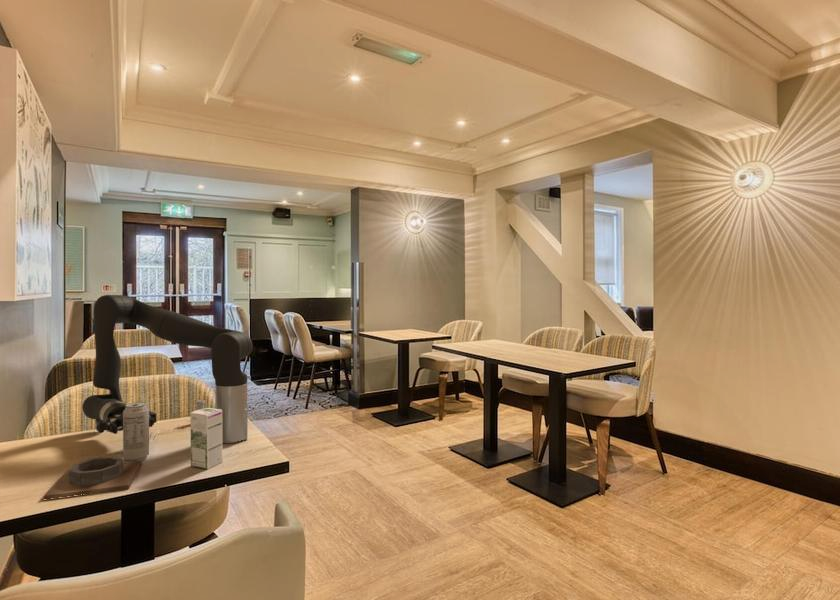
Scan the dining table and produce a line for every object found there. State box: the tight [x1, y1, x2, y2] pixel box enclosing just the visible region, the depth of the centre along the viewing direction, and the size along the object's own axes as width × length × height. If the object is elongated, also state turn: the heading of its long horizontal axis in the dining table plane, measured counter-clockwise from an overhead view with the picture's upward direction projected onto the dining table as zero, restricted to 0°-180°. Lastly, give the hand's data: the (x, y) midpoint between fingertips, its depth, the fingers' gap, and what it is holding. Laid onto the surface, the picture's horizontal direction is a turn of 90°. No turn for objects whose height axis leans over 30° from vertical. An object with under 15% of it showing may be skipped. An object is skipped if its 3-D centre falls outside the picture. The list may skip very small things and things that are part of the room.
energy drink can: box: [122, 401, 150, 463], centre depth 125 cm, size 6×6×15 cm
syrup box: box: [189, 407, 224, 470], centre depth 122 cm, size 6×6×14 cm
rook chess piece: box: [194, 398, 206, 411], centre depth 159 cm, size 4×4×8 cm
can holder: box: [43, 455, 142, 500], centre depth 111 cm, size 16×16×4 cm
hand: (134, 426), depth 126 cm, fingers open, 8 cm apart
